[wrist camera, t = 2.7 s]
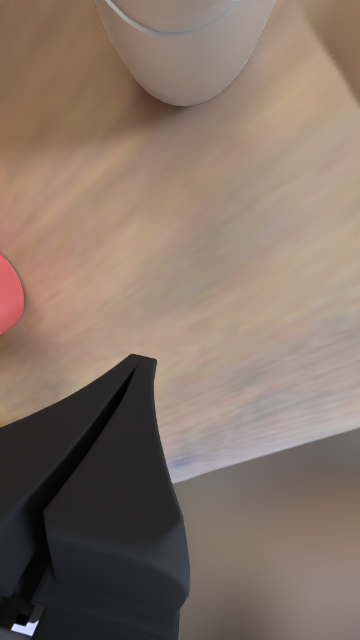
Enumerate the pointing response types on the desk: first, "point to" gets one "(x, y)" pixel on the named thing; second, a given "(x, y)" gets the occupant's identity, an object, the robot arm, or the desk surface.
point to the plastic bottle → (184, 43)
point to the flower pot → (9, 296)
